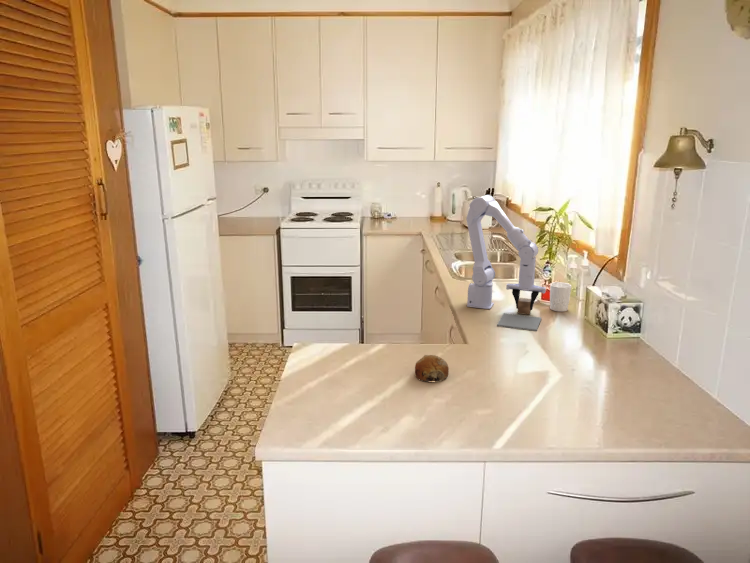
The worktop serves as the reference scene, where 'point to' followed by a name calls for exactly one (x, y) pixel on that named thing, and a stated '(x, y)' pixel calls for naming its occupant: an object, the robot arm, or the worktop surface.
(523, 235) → the robot arm
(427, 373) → the brown rounded dome
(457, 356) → the worktop surface
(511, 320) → the coaster mat
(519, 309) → the walnut block
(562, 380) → the worktop surface
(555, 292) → the white cup
